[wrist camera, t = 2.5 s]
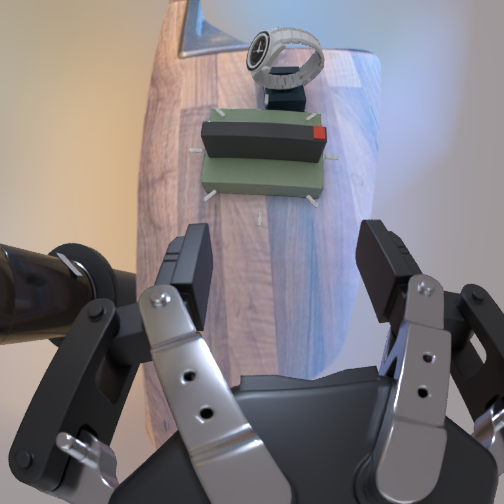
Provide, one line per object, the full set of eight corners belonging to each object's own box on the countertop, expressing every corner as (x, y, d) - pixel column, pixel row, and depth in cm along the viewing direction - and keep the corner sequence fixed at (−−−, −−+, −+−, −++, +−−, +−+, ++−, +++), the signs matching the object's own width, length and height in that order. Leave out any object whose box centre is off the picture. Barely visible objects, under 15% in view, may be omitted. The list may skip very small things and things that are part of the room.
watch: (247, 84, 34) (242, 20, 23) (309, 81, 34) (322, 20, 23) (250, 118, 33) (246, 54, 22) (317, 115, 33) (335, 53, 22)
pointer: (208, 157, 29) (199, 134, 24) (210, 144, 29) (202, 119, 25) (318, 163, 29) (327, 140, 24) (318, 149, 29) (326, 125, 24)
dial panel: (187, 229, 31) (179, 221, 28) (203, 109, 33) (199, 93, 30) (332, 237, 31) (340, 230, 27) (329, 115, 33) (334, 100, 30)
